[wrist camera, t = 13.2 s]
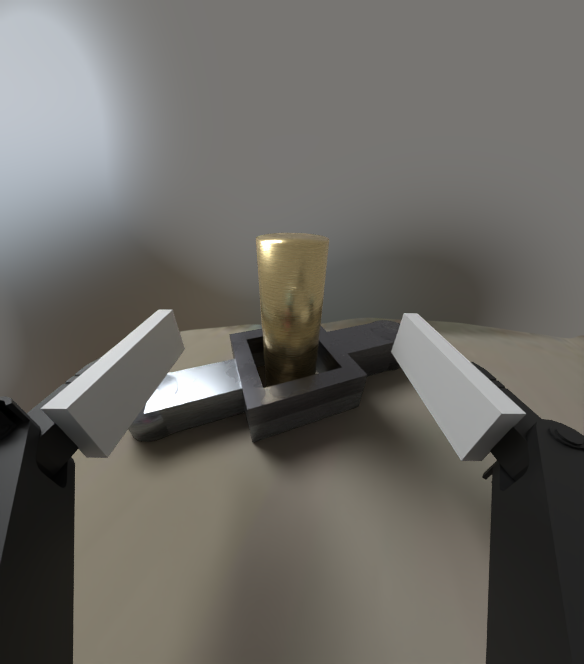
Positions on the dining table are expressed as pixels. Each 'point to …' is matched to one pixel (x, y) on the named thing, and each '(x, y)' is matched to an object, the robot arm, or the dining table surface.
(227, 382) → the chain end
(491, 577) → the robot arm
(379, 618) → the dining table surface
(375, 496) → the dining table surface
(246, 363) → the chain end
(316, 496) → the dining table surface
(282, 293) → the gold tall cylinder
